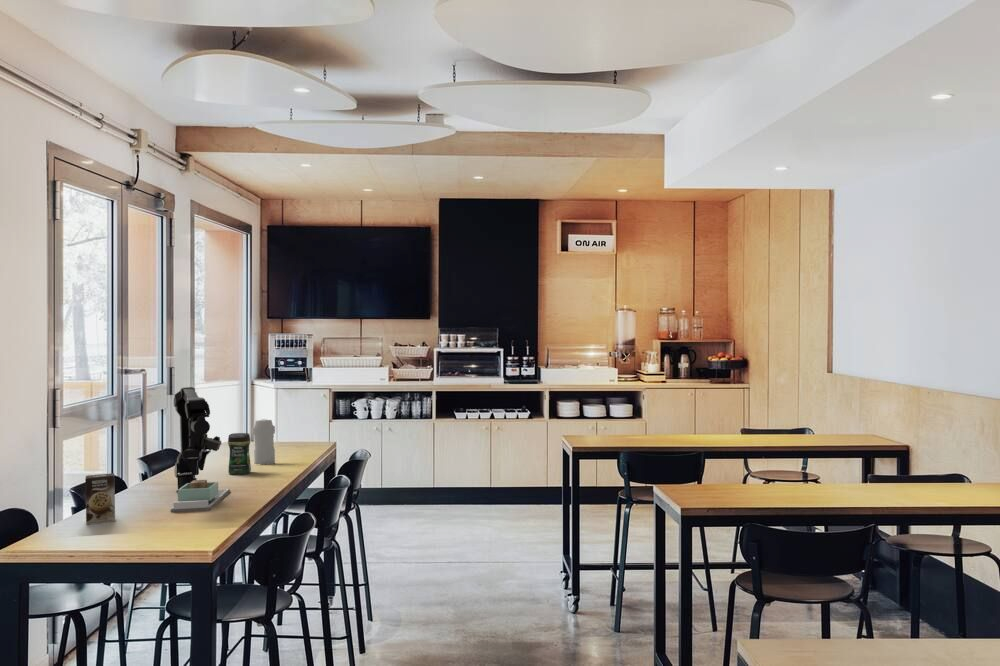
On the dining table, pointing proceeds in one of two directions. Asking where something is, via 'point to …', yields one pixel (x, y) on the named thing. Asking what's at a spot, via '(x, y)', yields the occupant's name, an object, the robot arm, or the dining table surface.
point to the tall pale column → (264, 442)
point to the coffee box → (100, 498)
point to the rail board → (199, 503)
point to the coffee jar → (239, 453)
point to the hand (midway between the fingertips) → (198, 472)
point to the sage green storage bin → (198, 492)
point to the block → (198, 484)
